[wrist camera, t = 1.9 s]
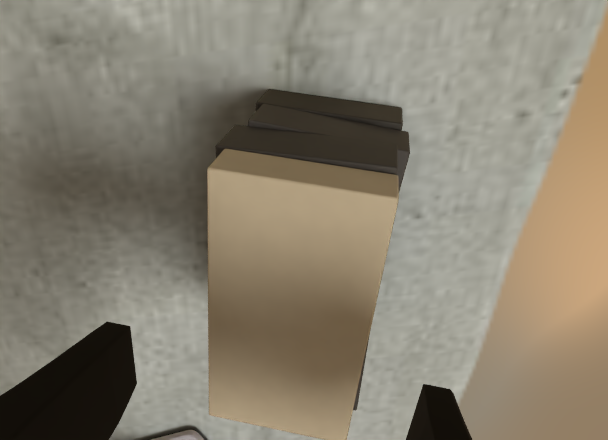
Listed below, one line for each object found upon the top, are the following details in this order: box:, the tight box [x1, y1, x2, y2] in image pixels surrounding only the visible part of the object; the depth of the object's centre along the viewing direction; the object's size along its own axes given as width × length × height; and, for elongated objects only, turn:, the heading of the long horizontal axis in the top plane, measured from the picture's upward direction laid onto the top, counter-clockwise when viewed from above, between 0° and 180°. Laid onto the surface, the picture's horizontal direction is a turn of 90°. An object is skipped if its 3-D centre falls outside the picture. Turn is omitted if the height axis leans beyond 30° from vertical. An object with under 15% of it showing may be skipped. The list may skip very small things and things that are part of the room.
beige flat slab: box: [207, 149, 399, 440], centre depth 14 cm, size 9×5×1 cm, turn 175°
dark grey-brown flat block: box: [216, 125, 398, 410], centre depth 15 cm, size 9×5×2 cm, turn 177°
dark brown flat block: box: [248, 104, 410, 190], centre depth 17 cm, size 9×5×2 cm, turn 172°
